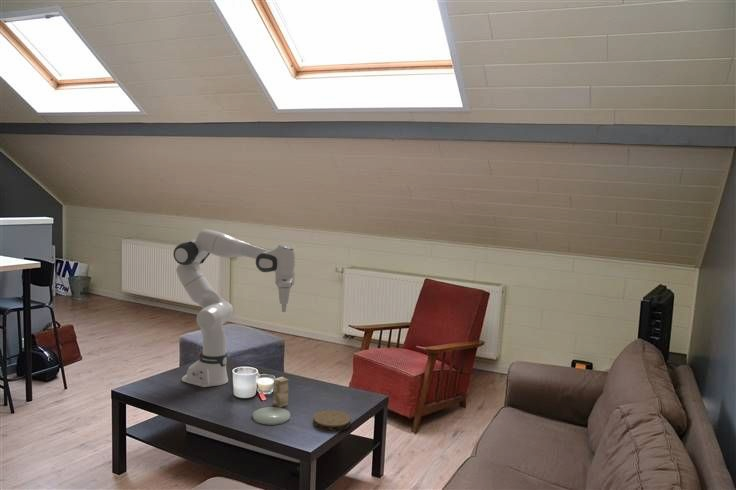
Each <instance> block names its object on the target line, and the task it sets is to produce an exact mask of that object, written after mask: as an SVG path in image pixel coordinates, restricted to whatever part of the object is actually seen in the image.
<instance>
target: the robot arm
mask: <svg viewBox="0 0 736 490" xmlns="http://www.w3.org/2000/svg"><path fill="white" fill-rule="evenodd" d="M211 254H212V255H215V256H216V257H220V258H226V259H227V258H228V259H230V258H238V257H246V258H251V259H254V260H255V266H256V268H257V269H258V270H259V271H260V272H262V273H270V272H274V273H275V274H274V277H275V279H274V281H275V282H274V283H275V285H276V287H277V288H278V299H279V300H278V301H279V303H280V305H281V312H282V313H286V312H287V311H286V310H287V304H288V303H289V300H290V299H289V298H290V292H291V289H292V287H293V286H294V285H295V275H296V274H295V265H296V257H295V256H296V255H295V250H294V248H293V247H291V246H288V245H285V244H279V245H277V246H276V247H275V248H270V249H269V248H264V247H262V246H258V245H254V244H251V243H248V242H246V241H243V240H241V239H238V238H236V237H234V236H231V235H229V234H227V233H224V232H220V231H217V230H214V229H208V228H207V229H202V230H201V231H199V232H198V234H197V237H196V239H191V240H187V241H185V242H182V243H180V244H178V245H177V246H175V248H174V250H173V254H172V255H173V258H174V261H176V263H177V264H178V265H177V266H176V269H175V271H176V274H177V276H178V279H179V281H180V284H181V285H182V286H183V288H184V290H185V291H186V293H187V294H188V296H189V297H190V299H191V301H192V302H194V303H196V304H198V306H200V307H201V310H199V312H198V313H197V315H196V320H195V321H196V325H197V326H198V327H199V328H200V331H201V335H202V352H201V353H199V354H198V355H197V358H199V359H198V360H196V361H195V362H194V363H192V364H191V365H190V366H189V367H188V369H187V371H186V374H185V375H184V376H182V377H181V382H183V383H187V384H190V385H194V386H199V387H202V388H206V387H207V388H208V387H215V386H222V385H225V384H226V383H228V382H229V378H228V377H229V376H228V373H227V360H228V358H227V357H228V356H227V355H228V354H227V337H226V335H225V334H224V329H223V326H224V324H225V323H227V322H228V321H229V320H230V319H231V318H232V316H233V314H234V307H233V305H232V304H231V302H229V301H227V300H225V299H223V298H222V296H220V294H219V293H217V292H216V290H215V289H214V288H213V287H212V285H211V283H210V282H209V281H208V279H207V278H206V276H205V274H204V273H203V271H202V270H201V268H200V264H201V265H202V264H203V263H205V260H206V259H208V257H209V256H210V255H211Z"/></svg>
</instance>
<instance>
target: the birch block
mask: <svg viewBox="0 0 736 490" xmlns="http://www.w3.org/2000/svg"><path fill="white" fill-rule="evenodd" d="M289 383H290V380H289V379H288V378H286V377H284V376H280V377H277V378H274V379H273V403H272V404H273V406H274V407H278V408H283V407H286V406H288V404H289Z"/></svg>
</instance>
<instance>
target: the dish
mask: <svg viewBox="0 0 736 490" xmlns="http://www.w3.org/2000/svg"><path fill="white" fill-rule="evenodd" d="M252 419H253V421H254V422H255V423H258V424H260V425H264V426H266V425H267V426H277V425H281V424H284V423H287V422H289V420H290V419H291V413H290V411H289V410H287V409H286V408H283V407H278V406H268V407H267V406H266V407H261V408H258V409H256V410H254V412H253V413H252Z"/></svg>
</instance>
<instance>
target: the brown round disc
mask: <svg viewBox="0 0 736 490" xmlns="http://www.w3.org/2000/svg"><path fill="white" fill-rule="evenodd" d="M351 420H352V419H351V416H350V414H349V413H346V412H345V411H341V410H335V409H333V410H332V409H327V410H320V411H318V412H315V414H314V415H313V419H312V424H313V427H315V428H316V429H318V430H321V431H323V432H329V433H330V432H333V433H334V432H343V431H345V430H347V429H349V428H350V426H351Z"/></svg>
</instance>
